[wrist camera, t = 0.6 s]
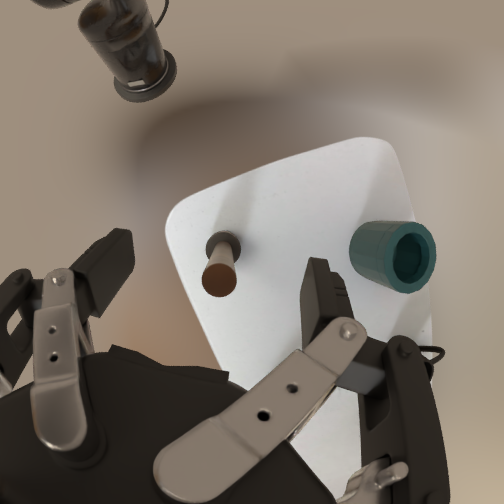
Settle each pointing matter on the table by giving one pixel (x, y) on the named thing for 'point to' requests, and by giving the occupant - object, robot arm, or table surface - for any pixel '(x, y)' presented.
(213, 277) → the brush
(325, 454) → the table surface
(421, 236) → the jar
